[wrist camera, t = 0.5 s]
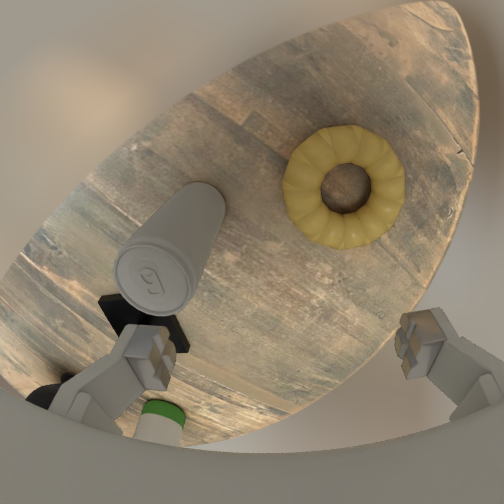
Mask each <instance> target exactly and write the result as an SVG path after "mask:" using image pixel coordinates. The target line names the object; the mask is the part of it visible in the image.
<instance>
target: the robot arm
mask: <svg viewBox="0 0 504 504" xmlns="http://www.w3.org/2000/svg"><path fill="white" fill-rule="evenodd" d="M400 324H401V327H400V328H399V329H398V330H397V332H396V336H395V350H396V353H397V356H398V357H399V358H401V359H402V360H403V362H402V365H401V367H402V370H403V372H404V375H405V378H406V380H409V379H415V378H419V377H424V376H427V378H428V379H429V380H430V381H431V382H432V383H433V384H435V385H436V386H437V387H438V388H439V389H440V390H441V391H442V392H444V394H445V395H446V396H448V397H449V398H450V399H451V400H452V401H453V402H454V403H455V404H456V405H457V406H458V407H457V408H456V409H455V410H454V412H453V413H452V414H451V416H450V418H449V420H450V422H449V423H446V424H443V425H440V426H437V427H434V428H431V429H428V430H424V431H421V432H418V433H414V434H410V435H407V436H402V437H399V438H394V439H390V440H386V441H381V442H376V443H371V444H365V445H360V446H353V447H347V448H340V449H332V450H322V451H312V452H296V453H232V452H218V451H207V450H198V449H190V448H182V447H176V446H169V445H164V444H158V443H153V442H148V441H143V440H139V439H134V438H130V437H126V436H122V434H123V431H122V429H121V428H120V427H119V426H118V425H117V424H116V423H115V422H114V420H116V419H117V418H118V417H119V416H120V415H121V414H122V413H123V412H124V411H125V410H126V409H127V408H128V407H129V406H130V405H131V404H132V403H133V402H134V401H135V400H136V399H137V398H138V397H139V396H140V395H141V394H142V393H143V392H144V391H145V389H147V390H157V391H166V390H167V387H168V384H169V381H170V378H171V376H170V374H169V371H170V370H171V369H173V368H174V366H175V362H176V349H175V346H174V343H173V342H172V341H170V340H169V339H168V338H169V335H170V333H169V331H168V329H167V327H165V326H153V325H135V324H128V325H126V326H125V328H124V329H123V331H122V333H121V335H120V337H119V338H118V340H117V342H116V344H115V346H114V347H113V349H112V351H111V353H110V355H105V356H103V357H102V358H100V359H99V360H97V361H96V362H95V363H93V364H92V365H90V366H89V367H87V368H86V369H84V370H83V371H81V372H80V373H78V374H77V375H75V376H74V377H72V378H71V379H69V380H68V381H66V382H65V383H64V384H62V385H61V386H60V388H59V390H58V392H57V394H56V396H55V397H54V399H53V401H52V403H51V405H50V407H49V409H48V410H45V409H43V408H41V407H38V406H36V405H34V404H32V403H30V402H28V401H26V400H23V399H21V398H19V397H17V396H15V395H13V394H12V393H10V392H8V391H6V390H4V389H3V388H1V387H0V504H504V362H503V361H501V360H500V359H498V358H497V357H495V356H493V355H492V354H490V353H489V352H487V351H485V350H484V349H482V348H481V347H479V346H477V345H476V344H474V343H472V342H471V341H469V340H467V339H466V338H464V337H459V336H458V334H457V332H456V331H455V329H454V328H453V326H452V324H451V323H450V321H449V320H448V318H447V316H446V315H445V313H444V312H443V310H442V309H441V308H439V307H437V308H432V309H427V310H422V311H415V312H408V313H403V314H402V316H401V318H400Z"/></svg>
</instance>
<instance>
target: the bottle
mask: <svg viewBox="0 0 504 504" xmlns="http://www.w3.org/2000/svg"><path fill="white" fill-rule="evenodd" d="M184 423H185V415H184V413H183V412H182V410H181V409H179V408H178V407H176V406H175V405H173V404H171V403H168V402H165V401H160V400H152V401H149V402H147V403H146V404H145V405H144V407H143V410H142V413H141V416H140V418H139V421H138V424H137V427H136V430H135V433H134V436H133V438H134V439H139V440H143V441H148V442H153V443H158V444H164V445H169V446H176V447H179V445H180V441H181V437H182V432H183V427H184Z"/></svg>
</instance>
